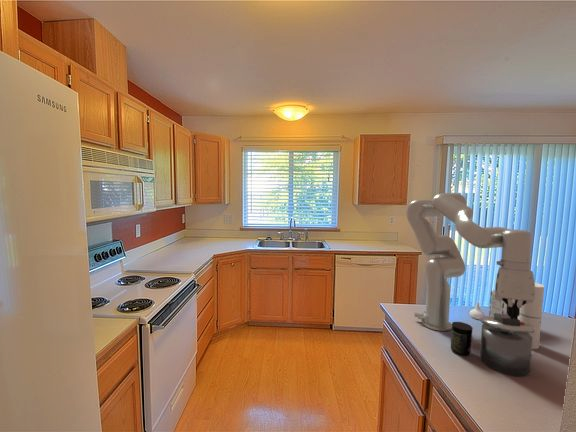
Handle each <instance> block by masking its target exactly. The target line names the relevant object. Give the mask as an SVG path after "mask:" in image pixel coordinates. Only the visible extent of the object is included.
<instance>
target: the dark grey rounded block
mask: <svg viewBox="0 0 576 432" xmlns="http://www.w3.org/2000/svg"><path fill="white" fill-rule="evenodd" d="M480 337H481V338H480V347H479V348H480V351H479V358H480V361H481V362H482V363H483V364H484V365H485V366H487V367H488V368H490V369H491V370H494V371H495V372H498V373H499V374H504V375H506V376H511V377H514V378H515V377H517V378H524V377H527V376H529V375H530V372H531V362H532V350H533V349H532V336H531V335H530V334H528V333H524V332H516V331H510V330H505V329H500V328H496V327H492V326H489V325H486V324H484V323H482V325H481V336H480Z"/></svg>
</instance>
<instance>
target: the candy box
mask: <svg viewBox="0 0 576 432" xmlns="http://www.w3.org/2000/svg"><path fill="white" fill-rule="evenodd" d="M495 293H496V292H495V289H493V290H490V301H489V303H490V304H489V305H490V306H489V314H488V317H494V313H498V314H505V315H507V304H506V303H505V302H504V301H501V300H498V299H496V298H495V297H494V296H495ZM514 301H515V300H514V299H512V304H513V305H514Z"/></svg>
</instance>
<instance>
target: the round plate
mask: <svg viewBox="0 0 576 432" xmlns="http://www.w3.org/2000/svg"><path fill="white" fill-rule="evenodd" d="M480 322H481V323H482V324H486V325H489V326H492V327H496V328H500V329H505V330H510V331H516V332H524V333H533V332H535V327H534V326H532V325H529V324H526V323H525V322H520V320H519V319H515V318H513V319H511V318H510V317H509V316H508V315H505V314H498V313H494V317H489V315H487V316H486V315H485V317H481V320H480Z"/></svg>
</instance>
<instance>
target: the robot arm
mask: <svg viewBox="0 0 576 432" xmlns="http://www.w3.org/2000/svg"><path fill="white" fill-rule="evenodd" d="M473 215H474V210H473V209H472V207H470V206H468V205H467V199H466V197H464V195H462V194H461V193H459V192H458V193H456V192H441V193H439V194H436V195H435V196H434V197H433V198H432V199H431V198H430V199H429V198H427V199H424V198H423V199H422V198H421V199H416V200H413V201H411V202H409V204H408V206H407V208H406V217H407V220H408V223H409V225H410V228H412V230H413V232H414V235H415V238H416V240H417V243H418V245H419V247H420V250H421V252H422V253H423V255H425V256H426V257H427V256H428V257H433V258H430V259H428V260H427V262H426V263H425V266H424V268H425V269H424V270H425V275H426V295H425V296H426V297H425V298H426V299H425V311H423V312H421V313H419V312H414V318H417V319H418V320H421V324H422V325H423V326H424V327H426V328H428V329H430V330H433V331H439V332H449V331H452V322H450V304H451V302H450V301H451V287H450V283H449V281H448V279H451V278H459V277H461V276H463V275H464V274H465V272H466V263H465V262H464V260H463V257H462V255H461V252H460V250H459V249H458V246H457V244H456V242H455V241H454V240H453V239H452V237H450V236H448V235H444V234H443V235H441V234H440V235H439V234H437V233H436V231H435V229H434V227H433V225H432V224H431V222H430V221H429V220H428V219H426V217H429V218H431V217H432V218H433V217H441V216H443V217H445V218H446V219H448V220H449V221H450V222H452V223H453V224H455V225H454V226H455V228H456V232H457V233H458V234H459V235H460V237H462V239H464V240H465V241H466V242H468V243H469V244H471V245H472V246H474V247H476V248H479V249H492V248H493V249H494V248H501V249H502V250H501V259H500V260H499V261H498V260H496V266H499V268H498V270H497V274H496V278H495V284H494V285H495V286H494V290H495V292H496V293H495V296H494V297H495V298H496V299H498V300H501V301H504V302H505V303H506V304H507V315H508V316H509V317H510V318H511V319H513V318H515V319H518V316H519V312H520V308H521V307H522V306H523V305H524V304H526V303H533V302H534V299H535V283H536V282H535V277H534V276H535V275H534V272H533V270H531V269H530V268H531V267H530V266H531V247H532V234H531V232H530V231H528V230H523V229H510V228H507V227H503V226H493V227H492V226H491V227H481V226H480V225H478V224H477V223H476V222H475V221H472V220H471V219H472V218H473ZM434 256H436V257H434ZM437 256H438V257H437ZM439 256H441V257H439ZM512 299H514V300H515V301H514V305H513V304H512Z"/></svg>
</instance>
